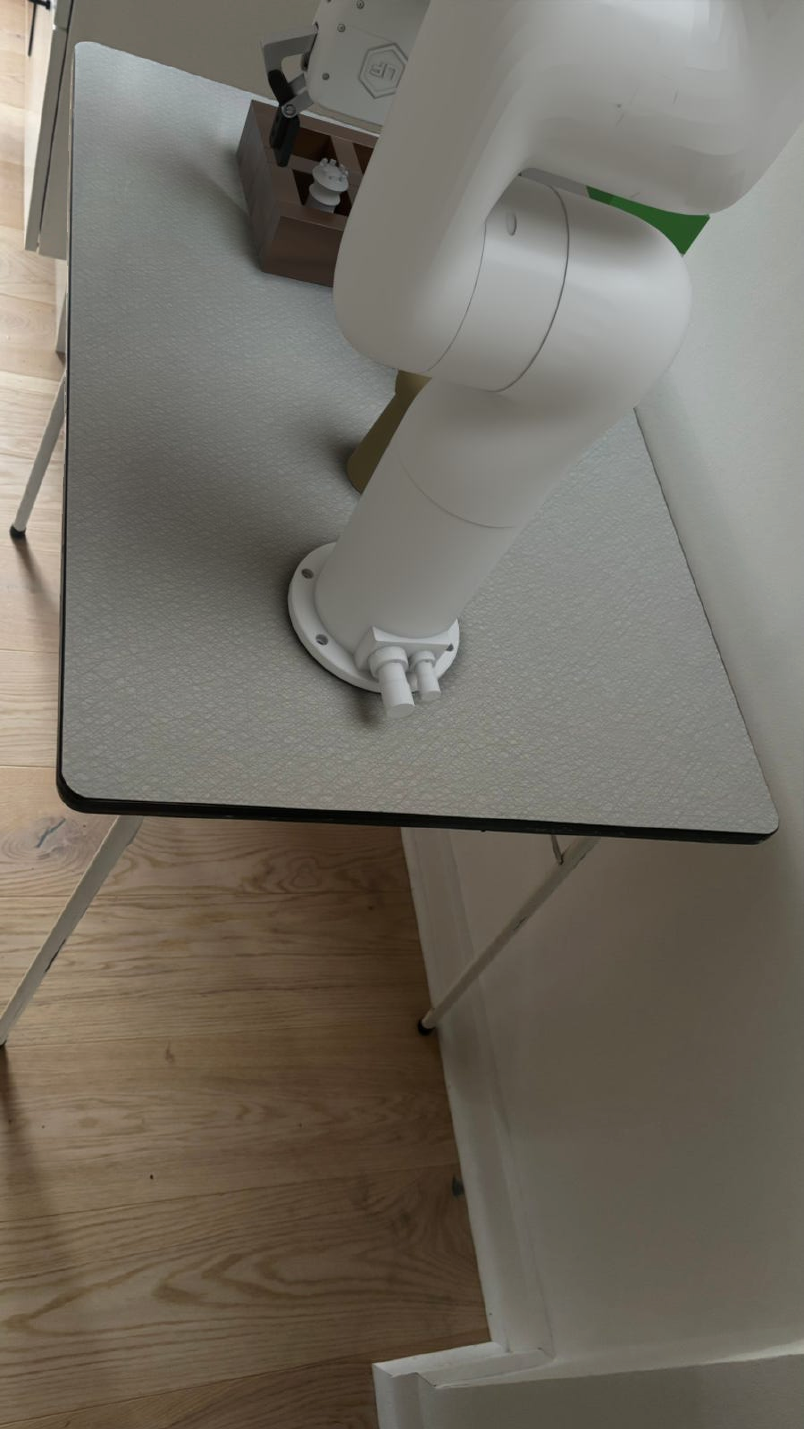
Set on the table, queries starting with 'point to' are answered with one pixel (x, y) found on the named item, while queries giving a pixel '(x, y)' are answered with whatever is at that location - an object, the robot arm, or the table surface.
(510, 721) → the table surface
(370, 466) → the olive flared vase
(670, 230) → the hardback book
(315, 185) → the rook chess piece
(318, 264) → the divided compartment box
